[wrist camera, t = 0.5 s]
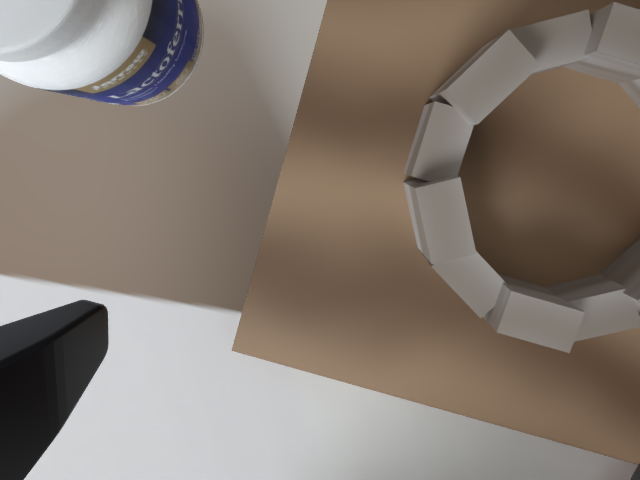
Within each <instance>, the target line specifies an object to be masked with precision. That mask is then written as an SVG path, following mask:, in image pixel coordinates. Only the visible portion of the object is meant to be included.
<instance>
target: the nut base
mask: <svg viewBox="0 0 640 480" xmlns="http://www.w3.org/2000/svg"><path fill="white" fill-rule="evenodd" d="M232 351H235V352H239V353H242V354H246V355H249V356H253V357H256V358H260V359H264V360H267V361H271V362H274V363H278V364H281V365H285V366H289V367H292V368H296V369H299V370H303V371H306V372H310V373H313V374H317V375H321V376H324V377H328V378H331V379H335V380H338V381H342V382H346V383H349V384H353V385H356V386H360V387H363V388H367V389H371V390H374V391H378V392H381V393H385V394H388V395H392V396H395V397H399V398H403V399H406V400H410V401H413V402H417V403H420V404H424V405H428V406H431V407H435V408H438V409H442V410H445V411H449V412H452V413H456V414H460V415H463V416H467V417H470V418H474V419H477V420H481V421H485V422H488V423H492V424H495V425H499V426H502V427H506V428H510V429H513V430H517V431H520V432H524V433H527V434H531V435H534V436H538V437H542V438H545V439H549V440H552V441H556V442H559V443H563V444H567V445H570V446H574V447H577V448H581V449H584V450H588V451H592V452H595V453H599V454H602V455H606V456H609V457H613V458H616V459H620V460H624V461H627V462H631V463H634V464H638V465H639V463H640V0H328V1H327V4H326V8H325V11H324V15H323V19H322V23H321V26H320V30H319V33H318V37H317V41H316V44H315V49H314V52H313V55H312V59H311V63H310V66H309V70H308V74H307V77H306V81H305V85H304V88H303V92H302V95H301V99H300V103H299V106H298V110H297V114H296V117H295V121H294V125H293V128H292V132H291V136H290V139H289V143H288V147H287V150H286V154H285V158H284V161H283V165H282V169H281V173H280V176H279V180H278V183H277V187H276V191H275V195H274V198H273V201H272V205H271V209H270V212H269V217H268V220H267V224H266V227H265V231H264V234H263V238H262V242H261V246H260V249H259V253H258V256H257V260H256V264H255V267H254V271H253V275H252V278H251V282H250V286H249V289H248V294H247V296H246V300H245V304H244V308H243V311H242V315H241V318H240V322H239V326H238V329H237V333H236V337H235V340H234V344H233V348H232Z"/></svg>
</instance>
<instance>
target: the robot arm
mask: <svg viewBox="0 0 640 480" xmlns="http://www.w3.org/2000/svg"><path fill="white" fill-rule="evenodd" d="M107 349H108V311H107V308H106V307H105V306H104V305H103V304H99V303H95V302H91V301H87V300H80V301H77V302H74V303H70V304H67V305H64V306H61V307H58V308H55V309H52V310H49V311H46V312H43V313H40V314H37V315H33V316H30V317H27V318H24V319H21V320H18V321H15V322H12V323H9V324H6V325H3V326H0V480H24V478H25V477H26V476H27V474H28V473H29V472H30V470H31V469H32V468H33V466H34V465H35V464H36V463H37V461H38V460H39V459H40V457H41V456H42V455H43V453H44V452H45V451H46V449H47V448H48V447H49V445H50V444H51V443H52V441H53V440H54V439H55V437H56V436H57V434H58V433H59V432H60V430H61V429H62V427H63V425H64V424H65V422H66V421H67V419H68V418H69V416H70V414H71V413H72V411H73V409H74V408H75V406H76V404H77V403H78V401H79V399H80V398H81V396H82V394H83V393H84V391H85V389H86V388H87V386H88V384H89V383H90V381H91V379H92V378H93V376H94V374H95V373H96V371H97V369H98V368H99V366H100V364H101V363H102V361H103V359H104V357H105V355H106V353H107ZM631 480H640V463H639V465H638V467H637V469H636V470H635V472H634V474H633V476H632V478H631Z"/></svg>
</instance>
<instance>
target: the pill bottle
mask: <svg viewBox="0 0 640 480" xmlns="http://www.w3.org/2000/svg"><path fill="white" fill-rule="evenodd" d="M203 31H204V29H203V19H202V14H201V10H200V7H199V4H198V2H197V0H0V74H1V75H3V76H5V77H7V78H9V79H11V80H13V81H16V82H18V83H21V84H24V85H26V86H31V87H35V88H37V89H42V90H47V91H52V92H57V93H62V94H67V95H72V96H77V97H82V98H87V99H91V100H96V101H101V102H106V103H110V104H116V105H123V106H141V105H148V104H152V103H155V102H158V101H160V100H163V99H165V98H167V97H168V96H170V95H172V94H173V93H174V92H176V91H177V90H178V89H179V88H181V87H182V86H183V85H184V84H185V83H186V81H187V80H188V79H189V78H190V76H191V75H192V73H193V72H194V70H195V68H196V66H197V63H198V61H199V58H200V55H201V51H202V46H203V34H204V32H203Z"/></svg>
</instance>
